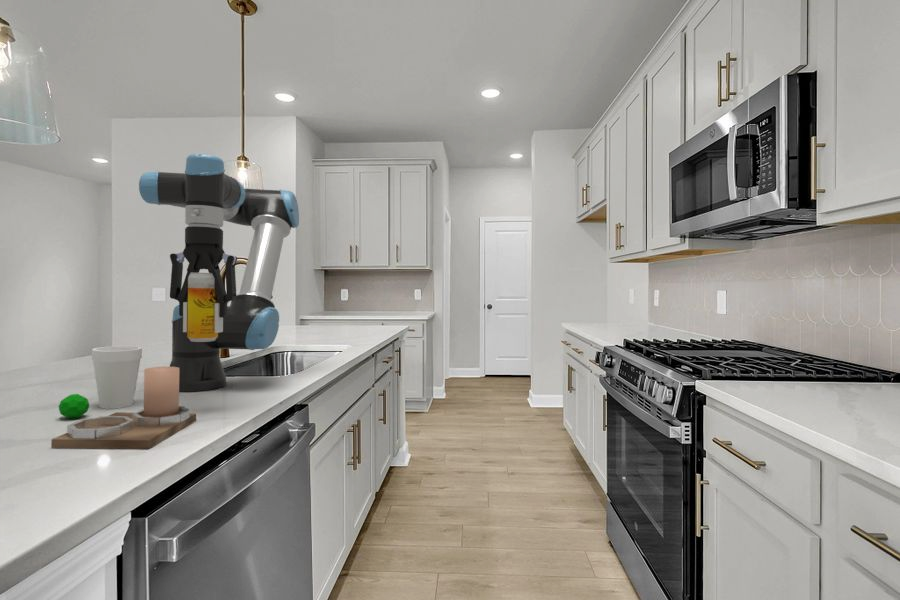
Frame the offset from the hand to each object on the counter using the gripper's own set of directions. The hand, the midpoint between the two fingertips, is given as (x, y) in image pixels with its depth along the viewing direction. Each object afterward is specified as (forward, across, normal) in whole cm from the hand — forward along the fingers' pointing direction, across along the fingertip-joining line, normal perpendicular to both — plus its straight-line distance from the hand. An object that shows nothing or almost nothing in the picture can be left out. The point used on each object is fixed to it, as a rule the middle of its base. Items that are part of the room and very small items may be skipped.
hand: (203, 331), depth 110 cm
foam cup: (+18, -21, +4) cm, 28 cm away
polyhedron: (+18, -23, -7) cm, 30 cm away
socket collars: (+16, -6, -16) cm, 24 cm away
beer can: (+2, 0, 0) cm, 2 cm away
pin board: (+18, -6, -17) cm, 25 cm away
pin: (+16, -3, -12) cm, 21 cm away
